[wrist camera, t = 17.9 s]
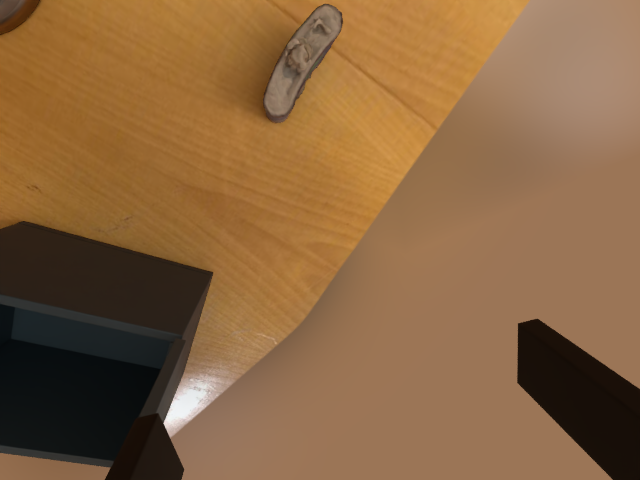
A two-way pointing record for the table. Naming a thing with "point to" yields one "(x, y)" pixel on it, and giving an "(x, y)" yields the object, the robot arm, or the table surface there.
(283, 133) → the table surface
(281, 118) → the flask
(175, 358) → the lunchbox lid
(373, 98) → the table surface
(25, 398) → the box
